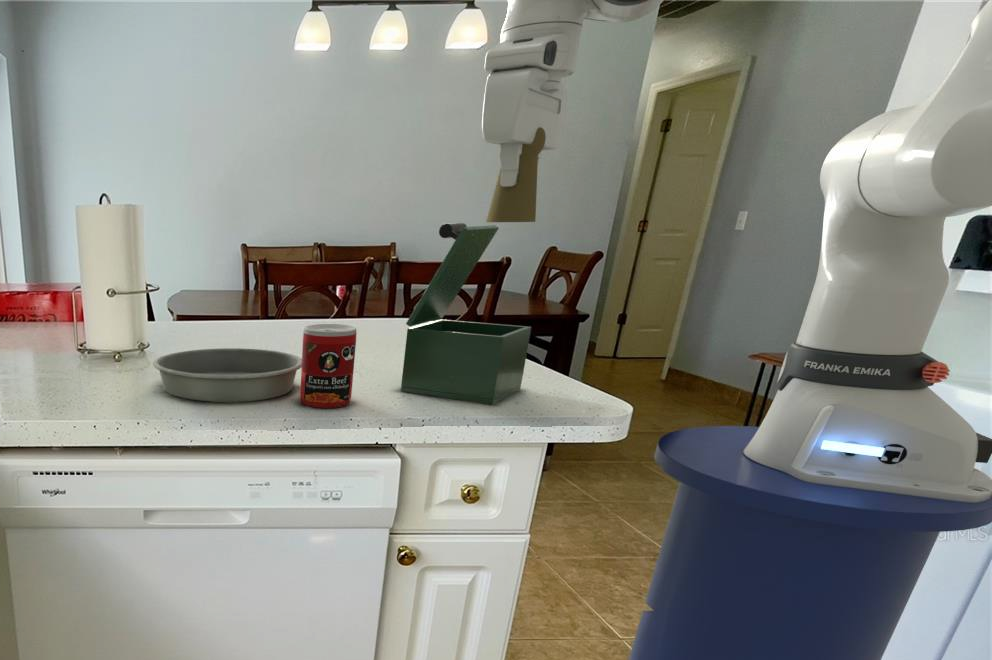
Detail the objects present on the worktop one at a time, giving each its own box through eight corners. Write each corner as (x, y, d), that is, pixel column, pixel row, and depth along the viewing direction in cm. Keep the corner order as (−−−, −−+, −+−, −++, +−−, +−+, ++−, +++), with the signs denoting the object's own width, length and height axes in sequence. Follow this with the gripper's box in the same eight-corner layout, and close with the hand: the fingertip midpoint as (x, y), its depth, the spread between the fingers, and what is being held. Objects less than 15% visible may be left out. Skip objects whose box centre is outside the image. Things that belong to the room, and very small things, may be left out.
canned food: (299, 408, 105) (303, 331, 100) (299, 395, 112) (303, 323, 107) (352, 409, 104) (358, 332, 99) (349, 396, 111) (355, 323, 106)
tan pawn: (489, 222, 91) (503, 124, 87) (482, 221, 97) (496, 129, 92) (539, 221, 90) (557, 122, 86) (530, 221, 95) (546, 127, 91)
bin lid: (499, 227, 108) (472, 211, 110) (467, 229, 100) (439, 212, 101) (442, 317, 118) (418, 301, 120) (409, 326, 110) (384, 309, 111)
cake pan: (293, 371, 129) (294, 346, 127) (311, 405, 106) (313, 374, 104) (158, 372, 129) (157, 347, 127) (148, 405, 107) (147, 375, 105)
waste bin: (520, 389, 114) (531, 326, 110) (492, 404, 105) (503, 337, 101) (432, 378, 123) (440, 319, 119) (400, 391, 114) (407, 328, 110)
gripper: (534, 74, 95) (516, 189, 101) (480, 51, 81) (462, 186, 86) (586, 68, 91) (564, 187, 97) (538, 42, 77) (516, 184, 83)
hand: (516, 187), depth 92 cm, fingers closed on tan pawn, 4 cm apart
